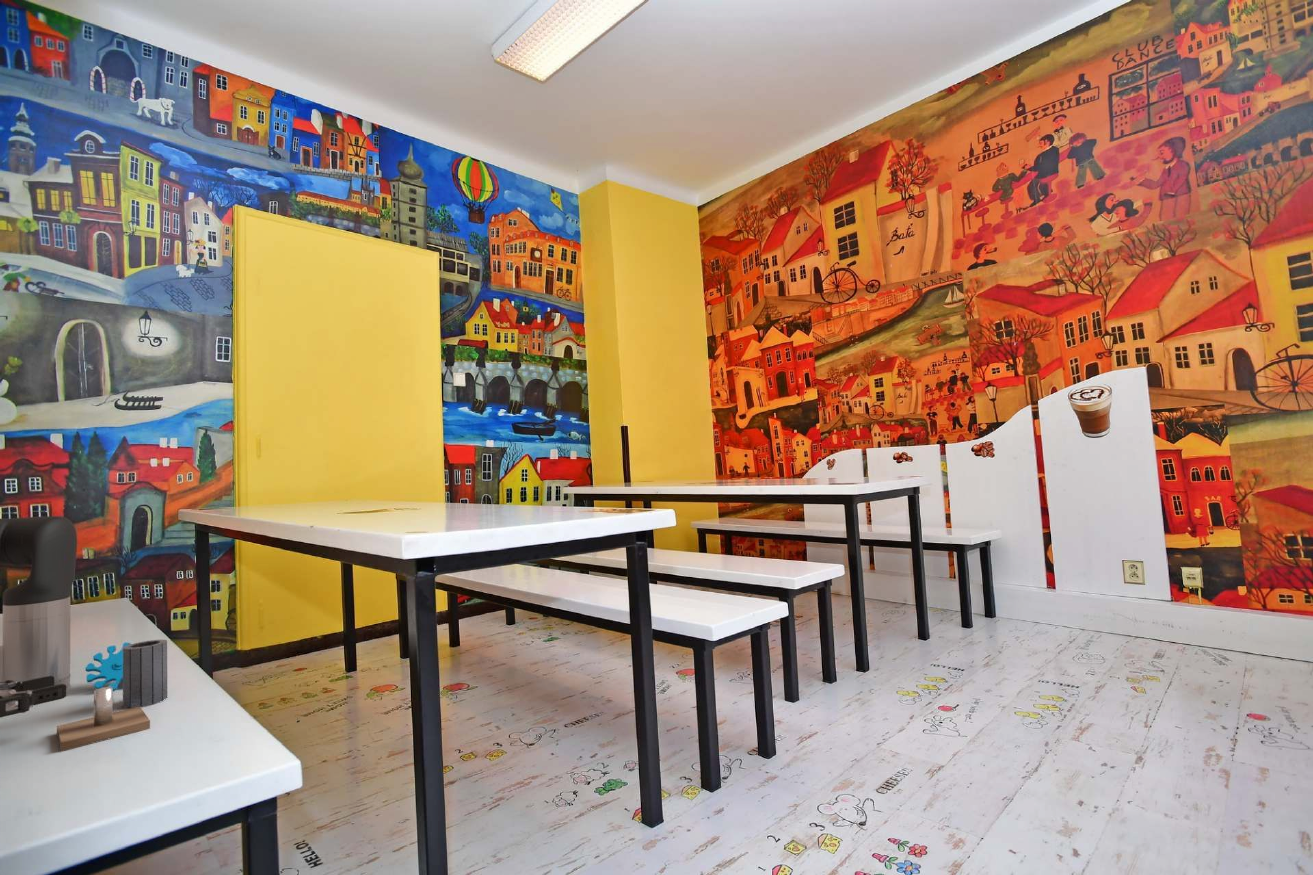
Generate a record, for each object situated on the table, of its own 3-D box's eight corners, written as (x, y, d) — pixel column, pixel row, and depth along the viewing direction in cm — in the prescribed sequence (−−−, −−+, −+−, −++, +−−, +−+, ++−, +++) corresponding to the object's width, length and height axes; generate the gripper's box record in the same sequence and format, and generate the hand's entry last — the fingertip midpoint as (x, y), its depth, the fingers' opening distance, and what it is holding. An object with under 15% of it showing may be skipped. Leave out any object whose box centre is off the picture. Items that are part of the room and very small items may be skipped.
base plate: (56, 734, 97) (56, 726, 97) (139, 713, 104) (139, 706, 104) (61, 751, 90) (61, 742, 90) (149, 728, 97) (149, 720, 97)
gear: (76, 689, 114) (94, 641, 121) (79, 706, 117) (97, 658, 124) (152, 685, 119) (165, 639, 126) (153, 701, 122) (166, 656, 129)
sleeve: (115, 710, 106) (114, 650, 107) (135, 698, 112) (135, 641, 113) (155, 705, 108) (155, 646, 108) (173, 694, 113) (173, 638, 114)
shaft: (90, 727, 96) (90, 692, 96) (99, 721, 98) (99, 687, 98) (107, 724, 96) (107, 690, 96) (116, 719, 98) (116, 686, 99)
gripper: (-92, 702, 84) (70, 668, 97) (-101, 685, 93) (50, 656, 106) (-93, 759, 84) (70, 717, 97) (-102, 737, 92) (49, 701, 105)
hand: (59, 686), depth 101 cm, fingers open, 8 cm apart
